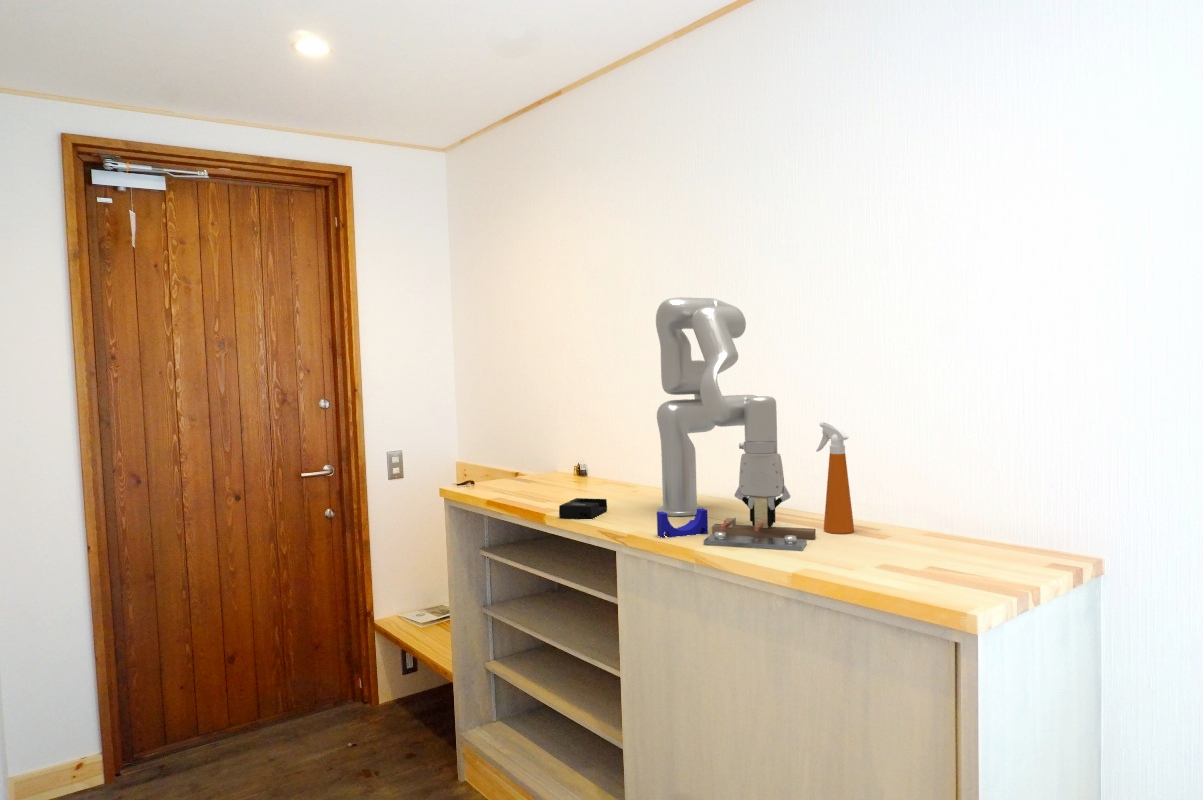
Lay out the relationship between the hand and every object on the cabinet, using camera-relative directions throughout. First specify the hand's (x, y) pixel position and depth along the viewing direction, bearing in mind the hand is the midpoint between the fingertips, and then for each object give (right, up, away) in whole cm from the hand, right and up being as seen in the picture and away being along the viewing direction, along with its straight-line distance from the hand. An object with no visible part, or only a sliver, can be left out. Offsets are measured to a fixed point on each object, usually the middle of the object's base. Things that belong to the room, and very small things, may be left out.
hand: (762, 524), depth 186 cm
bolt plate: (-4, -3, -9) cm, 10 cm away
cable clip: (-19, -4, +5) cm, 20 cm away
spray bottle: (+18, -2, +4) cm, 19 cm away
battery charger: (-43, -3, +34) cm, 55 cm away
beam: (-1, -3, -2) cm, 4 cm away
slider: (-1, -1, -3) cm, 3 cm away
